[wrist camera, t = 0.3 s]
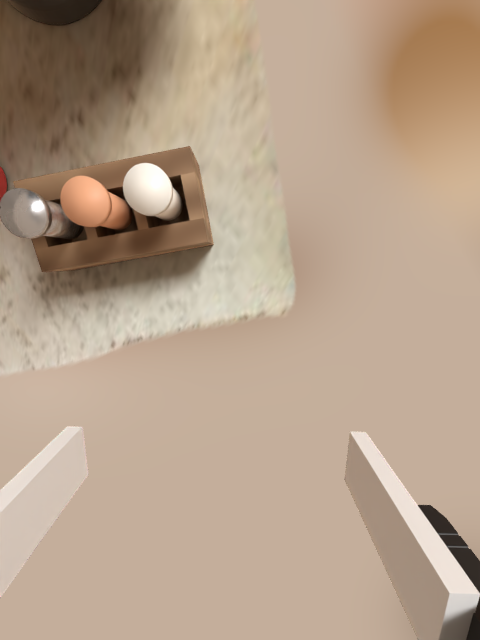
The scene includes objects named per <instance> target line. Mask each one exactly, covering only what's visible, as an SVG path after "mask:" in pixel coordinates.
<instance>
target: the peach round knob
mask: <svg viewBox="0 0 480 640" xmlns="http://www.w3.org/2000/svg"><path fill="white" fill-rule="evenodd" d="M60 200H61V206H62V209H63V211H64V213H65V214H66V216H67V217H68V218H69V219H70V220H71V221H72V222H74V223H76V224H78V225H81V226H85V227H97V226H103V227H107V228H111V229H115V230H122V229H125V228H126V227H128V226H129V225H130V223H131V221H132V216H133V214H132V209H131V207H130V205H129V204H128V203H127V202H126V201H125V200H124V199H122V198H120V197H118V196H116V195H114V194H112V193H110V192H108V191H107V189H106V188H105V187H104V186H103V185H102V184H101V183H100V182H98V181H96V180H94V179H93V178H90V177H88V176H75V177H73V178H71V179H69V180H68V181H67V182H66V183H65V184H64V186H63V188H62V191H61V196H60Z"/></svg>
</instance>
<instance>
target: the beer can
mask: <svg viewBox="0 0 480 640" xmlns="http://www.w3.org/2000/svg"><path fill="white" fill-rule="evenodd" d="M6 190H7V181H6V176H5V174H4V171H3V169H2V168H1V167H0V201H1V199H2V197H3V195H4V194H5V193H6Z"/></svg>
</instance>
